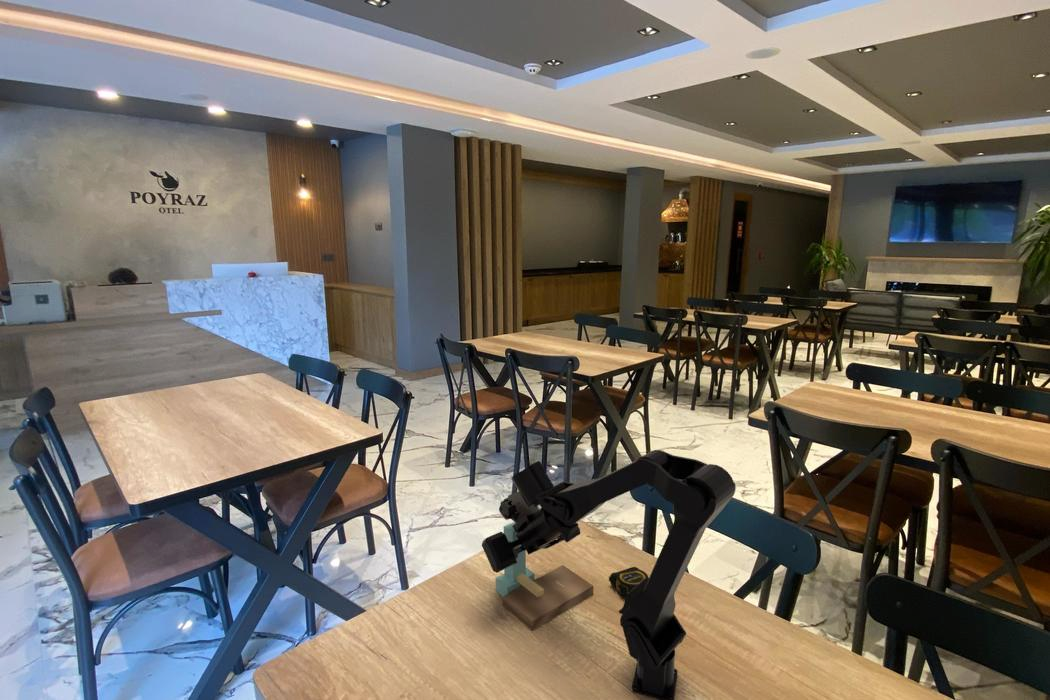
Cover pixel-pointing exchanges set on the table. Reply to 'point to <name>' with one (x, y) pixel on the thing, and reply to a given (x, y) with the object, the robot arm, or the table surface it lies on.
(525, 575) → the teal block tower
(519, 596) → the board
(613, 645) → the table surface
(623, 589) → the tape measure
